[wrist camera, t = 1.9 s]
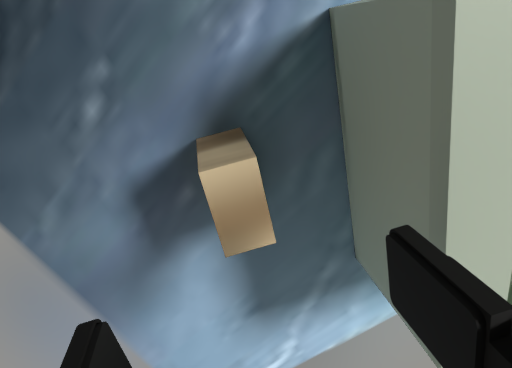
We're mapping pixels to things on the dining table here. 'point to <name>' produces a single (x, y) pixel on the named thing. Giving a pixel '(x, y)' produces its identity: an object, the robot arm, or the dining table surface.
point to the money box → (428, 130)
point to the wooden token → (234, 191)
